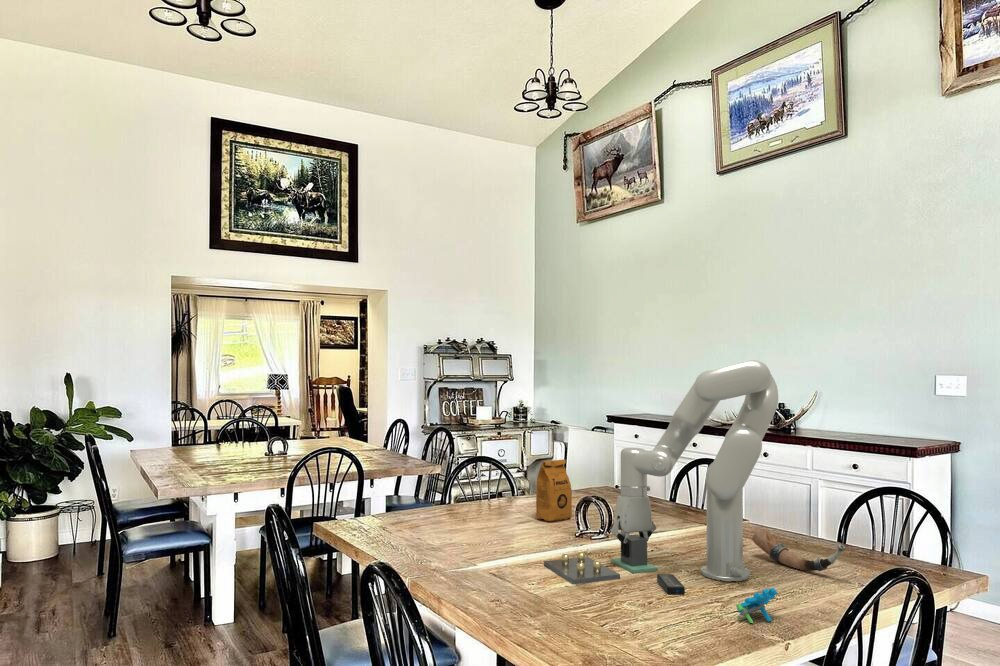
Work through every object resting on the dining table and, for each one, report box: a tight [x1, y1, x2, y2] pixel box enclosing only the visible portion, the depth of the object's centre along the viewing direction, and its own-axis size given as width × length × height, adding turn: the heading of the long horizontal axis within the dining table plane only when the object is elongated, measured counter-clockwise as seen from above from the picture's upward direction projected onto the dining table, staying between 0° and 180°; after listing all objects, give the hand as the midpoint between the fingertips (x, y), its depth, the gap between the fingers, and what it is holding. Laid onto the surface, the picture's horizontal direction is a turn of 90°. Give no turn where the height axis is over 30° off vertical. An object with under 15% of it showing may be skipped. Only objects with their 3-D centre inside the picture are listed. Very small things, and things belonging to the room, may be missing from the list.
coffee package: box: [535, 458, 573, 522], centre depth 256 cm, size 10×12×22 cm
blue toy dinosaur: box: [735, 587, 778, 624], centre depth 156 cm, size 11×6×10 cm
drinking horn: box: [751, 528, 846, 572], centre depth 197 cm, size 6×30×10 cm, turn 28°
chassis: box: [543, 551, 621, 585], centre depth 191 cm, size 18×14×4 cm
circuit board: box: [610, 534, 659, 574], centre depth 197 cm, size 12×8×8 cm, turn 21°
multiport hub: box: [656, 573, 686, 596], centre depth 178 cm, size 4×11×2 cm, turn 1°
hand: (633, 554), depth 197 cm, fingers closed on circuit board, 5 cm apart
